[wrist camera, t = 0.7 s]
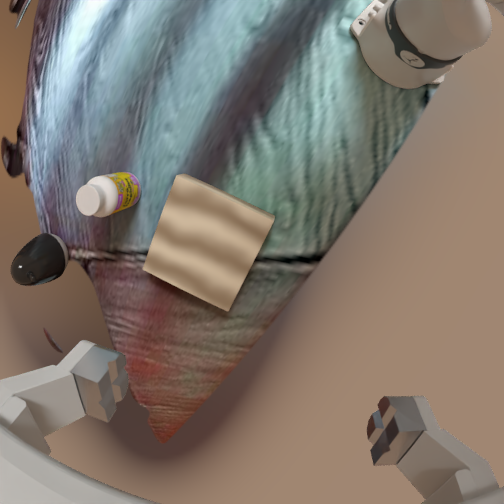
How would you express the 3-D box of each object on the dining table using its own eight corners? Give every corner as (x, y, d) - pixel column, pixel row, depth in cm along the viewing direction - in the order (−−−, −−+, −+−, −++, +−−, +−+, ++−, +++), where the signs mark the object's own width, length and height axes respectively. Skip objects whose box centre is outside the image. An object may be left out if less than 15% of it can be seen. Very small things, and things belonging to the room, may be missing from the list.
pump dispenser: (77, 276, 59) (35, 306, 45) (46, 267, 59) (4, 293, 45) (74, 232, 56) (27, 255, 41) (42, 225, 56) (-4, 246, 42)
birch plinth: (184, 173, 50) (176, 175, 46) (274, 215, 50) (274, 221, 47) (151, 261, 56) (142, 269, 52) (231, 301, 56) (228, 311, 52)
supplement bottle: (142, 207, 52) (105, 224, 40) (112, 206, 53) (72, 221, 41) (142, 171, 50) (104, 178, 38) (112, 171, 51) (70, 179, 39)
